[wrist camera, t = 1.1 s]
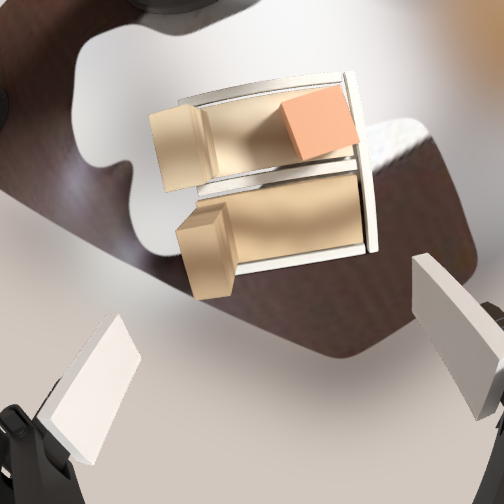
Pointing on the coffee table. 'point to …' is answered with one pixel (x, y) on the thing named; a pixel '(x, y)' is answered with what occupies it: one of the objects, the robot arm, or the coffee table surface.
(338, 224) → the wooden l-shaped block
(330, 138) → the cube
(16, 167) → the coffee table surface
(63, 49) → the coffee table surface
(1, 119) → the travel mug
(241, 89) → the lane rails
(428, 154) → the coffee table surface
